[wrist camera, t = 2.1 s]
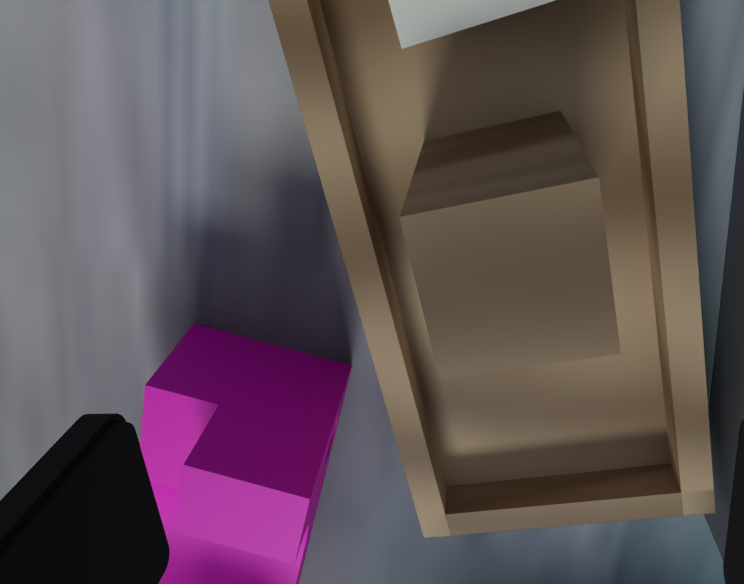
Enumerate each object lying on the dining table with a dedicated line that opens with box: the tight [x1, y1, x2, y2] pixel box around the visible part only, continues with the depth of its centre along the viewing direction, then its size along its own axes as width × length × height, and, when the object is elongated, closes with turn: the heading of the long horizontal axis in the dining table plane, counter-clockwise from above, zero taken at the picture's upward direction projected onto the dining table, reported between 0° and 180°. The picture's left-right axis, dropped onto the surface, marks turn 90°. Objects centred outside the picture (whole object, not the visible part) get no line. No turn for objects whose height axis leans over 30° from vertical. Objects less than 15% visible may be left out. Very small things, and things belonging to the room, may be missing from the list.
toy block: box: [140, 324, 352, 584], centre depth 26 cm, size 15×6×8 cm, turn 167°
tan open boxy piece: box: [269, 0, 715, 538], centre depth 18 cm, size 24×10×9 cm, turn 14°
